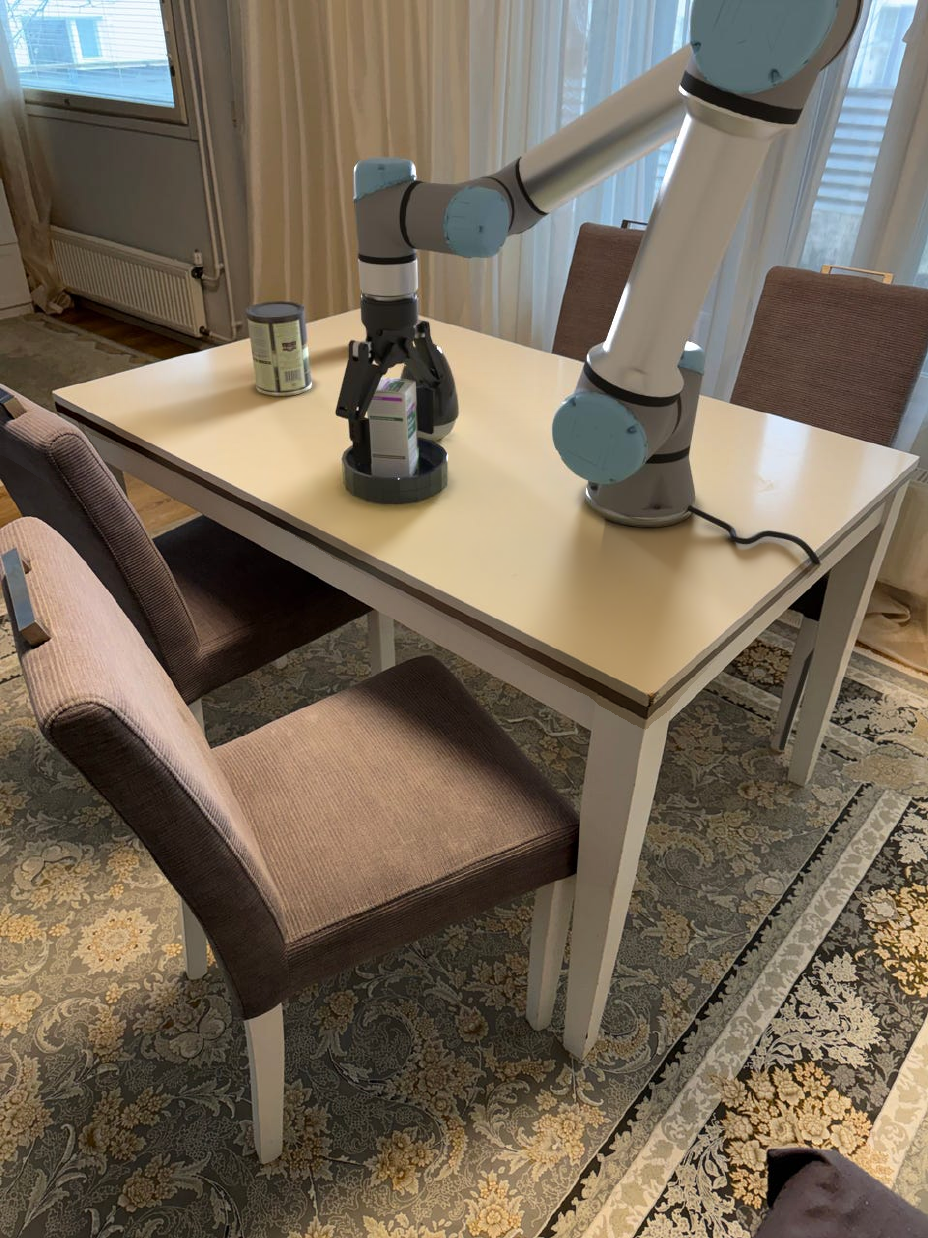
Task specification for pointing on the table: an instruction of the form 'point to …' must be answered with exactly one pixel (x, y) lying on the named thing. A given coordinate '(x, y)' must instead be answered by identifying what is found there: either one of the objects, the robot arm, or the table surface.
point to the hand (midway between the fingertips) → (395, 446)
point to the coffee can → (279, 348)
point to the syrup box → (394, 429)
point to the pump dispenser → (440, 400)
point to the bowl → (402, 488)
